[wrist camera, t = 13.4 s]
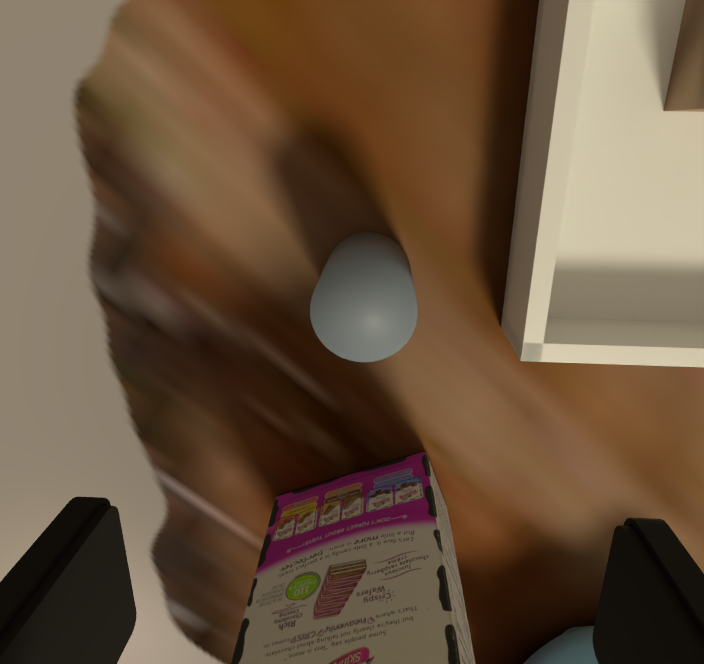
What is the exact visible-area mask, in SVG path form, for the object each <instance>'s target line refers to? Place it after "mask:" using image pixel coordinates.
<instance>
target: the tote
mask: <svg viewBox="0 0 704 664" xmlns="http://www.w3.org/2000/svg"><path fill="white" fill-rule="evenodd" d="M685 1H686V0H539V6H538V14H537V23H536V31H535V40H534V48H533V57H532V65H531V74H530V83H529V91H528V100H527V108H526V117H525V125H524V134H523V142H522V151H521V159H520V168H519V177H518V185H517V194H516V202H515V211H514V219H513V228H512V236H511V245H510V253H509V262H508V271H507V279H506V288H505V296H504V305H503V313H502V322H501V328H502V330H503V332H504V334H505V335H506V337H507V339H508V340H509V342H510V344H511V345H512V347H513V349H514V351H515V352H516V354H517V356H518V357H519V359H520V361H534V362H564V363H594V364H624V365H654V366H684V367H704V112H688V111H663V110H664V105H665V100H666V95H667V90H668V85H669V80H670V75H671V70H672V65H673V60H674V55H675V51H676V46H677V41H678V36H679V31H680V26H681V21H682V16H683V11H684V6H685Z"/></svg>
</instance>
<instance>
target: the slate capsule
mask: <svg viewBox="0 0 704 664" xmlns="http://www.w3.org/2000/svg"><path fill="white" fill-rule="evenodd" d="M417 316H418V306H417V300H416V295H415V289H414V284H413V279H412V273H411V268H410V263H409V260H408V258H407V255H406V254H405V252H404V250H403V249H402V248H401V247H400V245H399V244H397V243H396V242H395V241H394V240H392V239H391V238H389V237H387V236H385V235H383V234H379V233H375V232H361V233H356V234H353V235H351V236H349V237H347V238H345V239H344V240H342V241H341V242H340V243H338V244H337V246H336V247H335V248H334V249H333V251H332V252H331V254H330V256H329V258H328V260H327V262H326V265H325V267H324V269H323V271H322V274H321V276H320V278H319V281H318V283H317V285H316V287H315V290H314V292H313V295H312V298H311V303H310V318H311V323H312V326H313V329H314V331H315V333H316V335H317V337H318V338H319V340H320V341H321V342H322V343H323V344H324V346H325V347H326V348H328V349H329V350H330V351H331V352H333V353H334V354H336V355H338V356H340V357H342V358H344V359H347V360H351V361H355V362H373V361H378V360H382V359H384V358H387V357H389V356H391V355H393V354H395V353H396V352H397V351H399V350H400V349H401V348H402V347H403V346H404V345H405V344H406V343H407V341H408V340H409V339H410V337H411V335H412V334H413V331H414V329H415V326H416V323H417Z"/></svg>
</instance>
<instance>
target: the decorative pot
mask: <svg viewBox="0 0 704 664" xmlns="http://www.w3.org/2000/svg"><path fill="white" fill-rule="evenodd" d="M593 630H594V626H585V627H573V628H570V629H568V630H566V631H565V632H564V633H562V635H560V636H558V637H556V638H554V639H553V640H551V641H550V642H548V643H547V644H545V645H544V646H543V647H541V648H540V649H539V650H537V651H536V652H535V653H534V654H533V655H531V656H530V657H529V658H528V659H527V660H526V661H525V662H524V663H523V664H598V661H597V659H596V656H595V653H594V648H593V639H592V636H593Z"/></svg>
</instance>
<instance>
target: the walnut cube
mask: <svg viewBox="0 0 704 664" xmlns="http://www.w3.org/2000/svg"><path fill="white" fill-rule="evenodd" d="M663 111H688V112H704V0H686V1H685V6H684V11H683V16H682V21H681V26H680V31H679V36H678V41H677V46H676V51H675V55H674V60H673V65H672V70H671V75H670V80H669V85H668V90H667V95H666V100H665V105H664V110H663Z"/></svg>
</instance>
